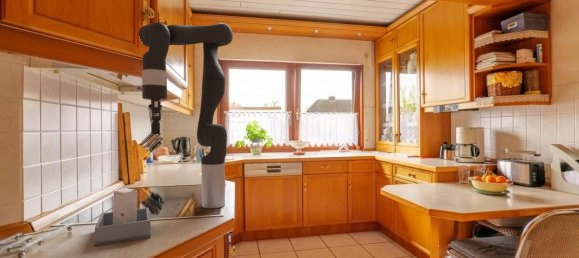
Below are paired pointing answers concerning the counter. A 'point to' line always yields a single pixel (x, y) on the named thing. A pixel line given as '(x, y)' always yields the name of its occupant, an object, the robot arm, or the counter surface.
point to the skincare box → (124, 206)
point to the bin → (122, 228)
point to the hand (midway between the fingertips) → (155, 133)
